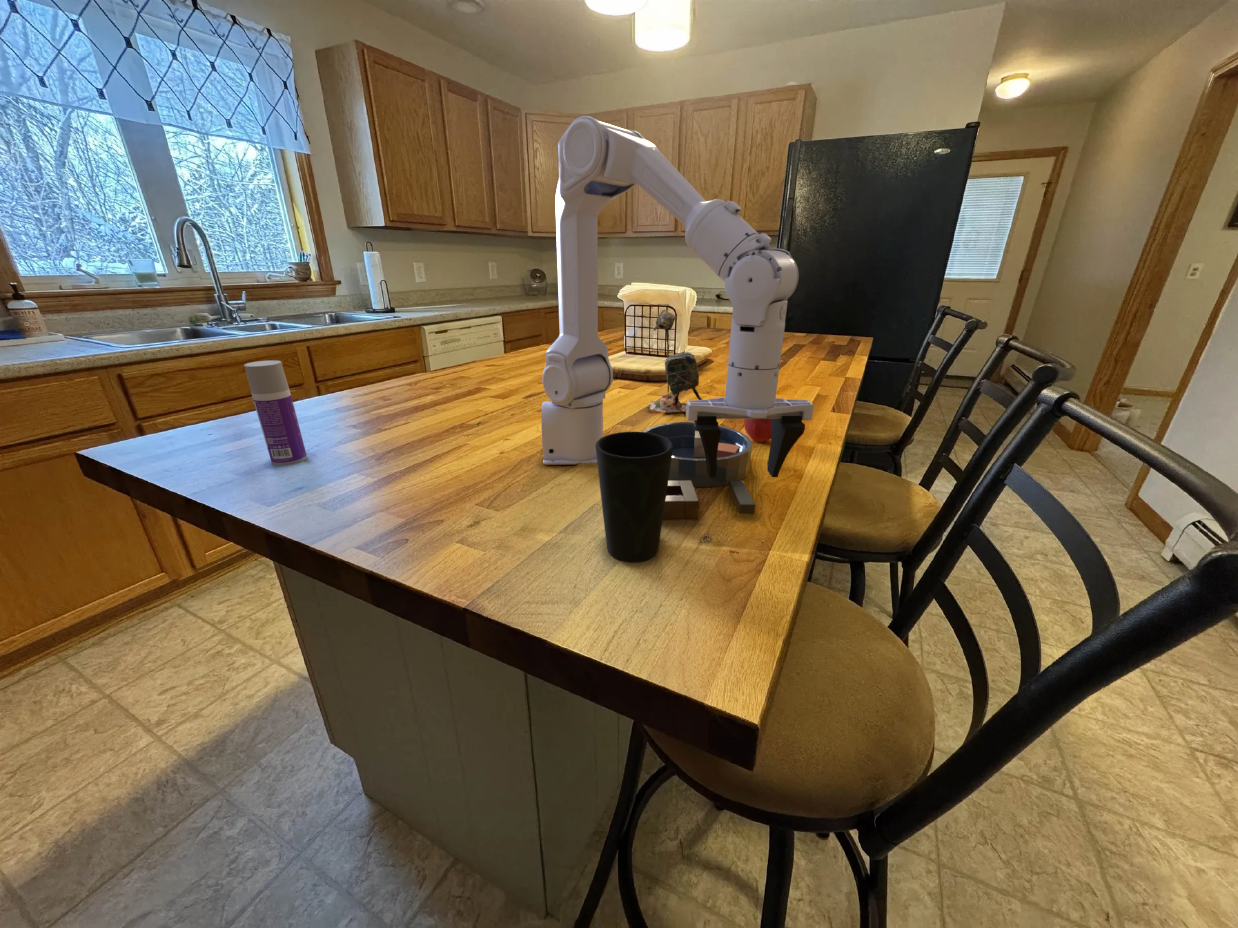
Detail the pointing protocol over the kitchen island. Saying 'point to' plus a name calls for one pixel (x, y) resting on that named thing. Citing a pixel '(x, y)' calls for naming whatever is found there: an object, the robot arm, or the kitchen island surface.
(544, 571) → the kitchen island surface
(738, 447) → the terracotta block
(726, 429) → the bowl
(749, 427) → the onion
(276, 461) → the container
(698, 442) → the cream block
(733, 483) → the long dark block
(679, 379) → the plant with pod
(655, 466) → the cup
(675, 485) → the holder
